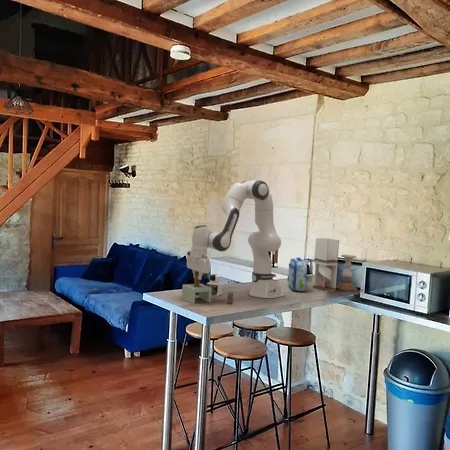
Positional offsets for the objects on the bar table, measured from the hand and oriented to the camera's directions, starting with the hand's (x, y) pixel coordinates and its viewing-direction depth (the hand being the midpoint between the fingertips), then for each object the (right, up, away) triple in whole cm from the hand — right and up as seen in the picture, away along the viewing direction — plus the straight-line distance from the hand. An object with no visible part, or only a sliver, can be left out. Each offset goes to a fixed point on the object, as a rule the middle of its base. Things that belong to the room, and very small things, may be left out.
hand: (197, 278), depth 249 cm
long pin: (-1, -9, 0) cm, 9 cm away
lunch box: (+64, -14, +53) cm, 84 cm away
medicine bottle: (+9, -12, +19) cm, 24 cm away
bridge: (-1, -12, +1) cm, 12 cm away
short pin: (+18, -14, -2) cm, 23 cm away
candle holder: (+100, -15, +63) cm, 120 cm away
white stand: (+83, -15, +57) cm, 102 cm away
